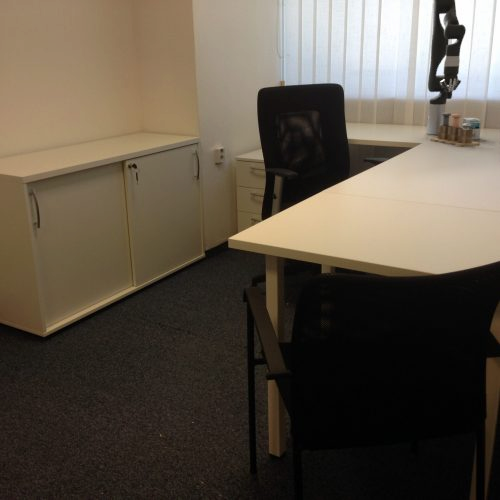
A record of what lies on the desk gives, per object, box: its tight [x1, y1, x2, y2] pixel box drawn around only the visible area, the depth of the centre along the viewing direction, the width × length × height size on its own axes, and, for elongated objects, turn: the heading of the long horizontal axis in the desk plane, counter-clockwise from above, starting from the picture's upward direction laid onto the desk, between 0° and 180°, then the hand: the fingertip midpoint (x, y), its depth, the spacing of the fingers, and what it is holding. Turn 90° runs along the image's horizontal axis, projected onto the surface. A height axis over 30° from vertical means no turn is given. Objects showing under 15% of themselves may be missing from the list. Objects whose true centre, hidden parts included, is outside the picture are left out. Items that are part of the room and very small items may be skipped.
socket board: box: [429, 125, 481, 148], centre depth 312 cm, size 25×12×8 cm, turn 21°
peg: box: [442, 112, 452, 126], centre depth 317 cm, size 4×4×9 cm
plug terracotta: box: [451, 113, 462, 128], centre depth 310 cm, size 4×4×9 cm
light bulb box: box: [462, 117, 482, 141], centre depth 324 cm, size 11×7×11 cm, turn 179°
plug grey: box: [461, 123, 471, 130], centre depth 304 cm, size 4×4×9 cm
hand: (448, 98), depth 313 cm, fingers closed
